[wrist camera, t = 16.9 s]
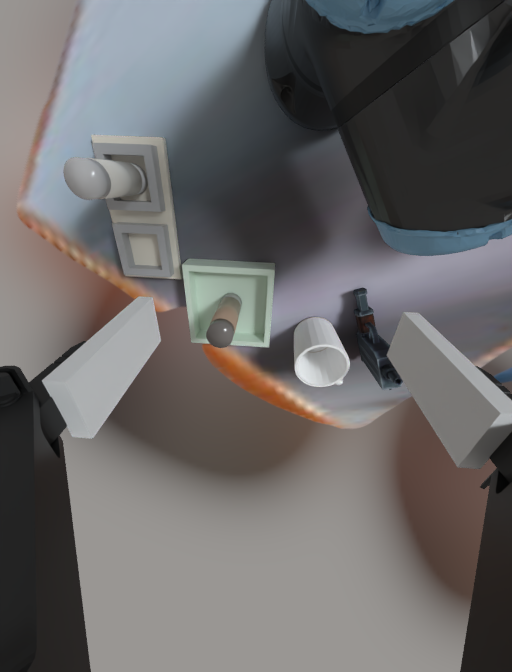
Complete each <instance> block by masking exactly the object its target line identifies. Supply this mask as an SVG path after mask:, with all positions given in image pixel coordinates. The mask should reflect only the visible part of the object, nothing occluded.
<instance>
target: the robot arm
mask: <svg viewBox="0 0 512 672" xmlns="http://www.w3.org/2000/svg"><path fill="white" fill-rule="evenodd" d="M450 42H451V43H450ZM433 55H434V56H433ZM429 58H430V59H429ZM265 60H266V69H267V75H268V80H269V83H270V87H271V90H272V92H273V95H274V97H275V99H276V101H277V103H278V104H279V106H280V107H281V109H282V110H283V111H284V113H285V114H286V115H287V116H288V117H289V118H290V119H291V120H293V121H294V122H295V123H297V124H299V125H301V126H303V127H305V128H308V129H313V130H329V129H333V128H337V127H338V131H339V134H340V136H341V139H342V141H343V144H344V146H345V149H346V151H347V154H348V156H349V159H350V161H351V164H352V166H353V169H354V171H355V174H356V176H357V179H358V181H359V184H360V186H361V189H362V191H363V194H364V196H365V199H366V201H367V204H368V207H367V210H368V213H369V216H370V218H371V219H372V220H373V221H374V222H375V223H376V225H377V227H378V230H379V232H380V234H381V236H382V238H383V240H384V241H385V243H386V244H388V245H389V246H390V247H391V248H393V249H394V250H396V251H398V252H401V253H405V254H409V255H418V256H434V255H445V254H452V253H458V252H463V251H467V250H471V249H474V248H478V247H481V246H484V245H486V244H487V243H488V240H491V239H503V238H505V237H507V236H509V235H512V0H271V4H270V7H269V12H268V16H267V22H266V30H265ZM425 61H426V62H425ZM421 64H422V65H421ZM416 68H417V69H416ZM412 71H413V72H412ZM408 74H409V75H408ZM404 77H405V78H404ZM403 78H404V79H403ZM399 81H400V82H399ZM395 84H396V85H395ZM386 91H387V92H386ZM382 94H383V95H382ZM378 97H379V98H378ZM374 100H375V101H374ZM373 101H374V102H373ZM340 126H341V127H340ZM339 127H340V128H339ZM160 341H161V338H160V333H159V327H158V322H157V318H156V312H155V307H154V302H153V297H137V298H136V299H135V300H134V301H133V302H132V303H130V304H129V305H128V306H127V307H126V308H125V309H124V310H123V311H121V312H120V313H119V314H118V315H117V316H116V317H114V318H113V319H112V320H111V321H110V322H109V323H108V324H106V325H105V326H104V327H103V328H102V329H101V330H100V331H98V332H97V333H96V334H95V335H94V336H93V337H91V338H90V339H89V340H88V341H87V342H86V341H83V342H81V343H79V344H77V345H75V346H73V347H71V348H70V349H69V350H68V351H67V352H65V353H64V354H63V355H62V357H59V358H58V359H57V360H56V361H55V362H54V363H52V364H51V365H50V366H48V367H47V368H46V369H45V370H44V371H42V372H41V373H40V374H39V375H38V376H36V377H35V378H34V379H33V380H32V381H31V382H28V381H27V379H26V378H25V376H24V374H23V373H22V371H21V369H20V368H19V367H16V366H3V367H0V672H91V669H90V662H89V654H88V646H87V638H86V629H85V621H84V613H83V604H82V596H81V588H80V580H79V571H78V563H77V555H76V547H75V538H74V530H73V522H72V513H71V505H70V497H69V489H68V480H67V472H66V464H65V456H64V447H63V441H62V439H61V437H60V434H61V432H62V431H63V430H64V429H65V428H66V427H67V428H68V429H69V431H70V433H71V435H72V437H80V438H93V437H94V436H95V434H96V433H97V432H98V430H99V429H100V427H101V426H102V425H103V423H104V422H105V420H106V419H107V417H108V416H109V414H110V413H111V412H112V410H113V409H114V407H115V406H116V404H117V403H118V401H119V400H120V399H121V397H122V396H123V394H124V393H125V391H126V390H127V389H128V387H129V386H130V384H131V383H132V382H133V380H134V379H135V377H136V376H137V374H138V373H139V372H140V370H141V369H142V367H143V366H144V364H145V363H146V361H147V360H148V359H149V357H150V356H151V354H152V353H153V352H154V350H155V349H156V347H157V346H158V344H159V343H160ZM387 357H388V358H389V360H390V361H391V363H392V364H393V366H394V368H395V369H396V371H397V372H398V374H399V375H400V377H401V379H402V380H403V382H404V383H405V385H406V387H407V388H408V390H409V391H410V393H411V394H412V396H413V397H414V399H415V401H416V402H417V404H418V405H419V407H420V409H421V410H422V412H423V413H424V415H425V417H426V418H427V420H428V421H429V423H430V424H431V426H432V428H433V429H434V431H435V432H436V434H437V435H438V437H439V439H440V440H441V442H442V443H443V444H444V446H445V448H446V450H447V451H448V453H449V454H450V456H451V457H452V459H453V461H454V462H455V464H456V465H457V467H462V468H474V469H480V468H481V467H482V466H483V465H484V464H485V463H486V462H487V460H488V459H489V458H490V459H491V461H492V462H493V463H494V464H495V466H496V467H497V469H496V470H495V471H494V472H493V473H492V474H491V475H490V476H489V477H488V478H487V479H486V480H485V481H484V482H483V483H482V485H481V488H483V489H485V488H486V487H487V486H490V487H489V494H488V500H487V507H486V513H485V519H484V525H483V532H482V538H481V545H480V550H479V557H478V563H477V569H476V576H475V582H474V589H473V595H472V601H471V608H470V614H469V621H468V626H467V633H466V639H465V645H464V652H463V658H462V664H461V671H460V672H512V394H510V391H509V390H507V389H506V388H505V387H504V386H502V385H501V383H500V382H499V381H498V380H497V379H495V378H494V377H493V376H492V375H491V374H489V373H487V372H486V371H484V370H483V369H481V368H479V367H478V366H474V365H473V364H472V363H471V362H470V361H469V360H468V359H467V358H466V357H465V356H464V355H463V354H462V353H461V352H460V351H458V350H457V349H456V348H455V347H454V346H453V345H452V344H451V343H450V342H449V341H448V340H447V339H446V338H445V337H444V336H442V335H441V334H440V333H439V332H438V331H437V330H436V329H435V328H434V327H433V326H432V325H431V324H430V323H429V322H428V321H426V320H425V319H424V318H423V317H422V316H421V315H420V314H419V313H411V312H403V314H402V317H401V319H400V322H399V324H398V327H397V330H396V332H395V335H394V338H393V340H392V343H391V345H390V348H389V351H388V353H387Z"/></svg>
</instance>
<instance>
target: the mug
mask: <svg viewBox="0 0 512 672" xmlns="http://www.w3.org/2000/svg"><path fill="white" fill-rule="evenodd" d="M294 363H295V372H296V375H297V376H298V378H299V379H300V380H301V381H302V382H304V383H305V384H308V385H310V386H315V387H325V386H330V385H333V384H336V385H341V384H342V383H343V378H344V377H345V375H346V374H347V372H348V370H349V366H350V361H349V357H348V355H347V353H346V351H345V349H344V347H343V345H342V343H341V341H340V339H339V337H338V335H337V333H336V331H335V329H334V327H333V325H332V324H331V323H330V322H329V321H328V320H326V319H324V318H320V317H311V318H307V319H305V320H303V321H301V322H300V323H299V324H298V325H297V327H296V328H295V331H294Z"/></svg>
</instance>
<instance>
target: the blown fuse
mask: <svg viewBox="0 0 512 672" xmlns="http://www.w3.org/2000/svg"><path fill="white" fill-rule="evenodd" d="M241 306H242V300H241V298H240V297H239V296H238V295H237V294H235V293H227V294H225V295H224V296H223V297H222V299H221V301H220V303H219V305H218V307H217V309H216V312H215V314H214V316H213V318H212V320H211V323H210V325H209V328H208V330H207V333H206V338H207V340H208V342H209V343H210V344H211V345H213V346H215V347H218V348H224V347H227V346H229V345H230V344H231V342H232V340H233V336H234V334H235V330H236V326H237V322H238V319H239V315H240V311H241Z"/></svg>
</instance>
